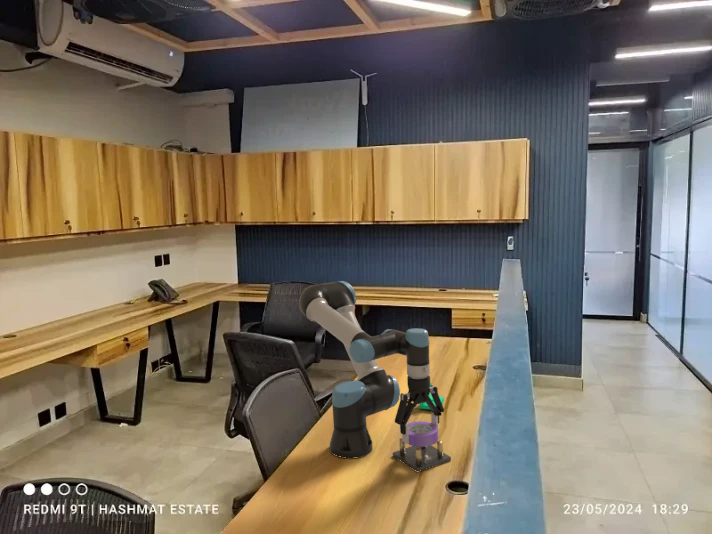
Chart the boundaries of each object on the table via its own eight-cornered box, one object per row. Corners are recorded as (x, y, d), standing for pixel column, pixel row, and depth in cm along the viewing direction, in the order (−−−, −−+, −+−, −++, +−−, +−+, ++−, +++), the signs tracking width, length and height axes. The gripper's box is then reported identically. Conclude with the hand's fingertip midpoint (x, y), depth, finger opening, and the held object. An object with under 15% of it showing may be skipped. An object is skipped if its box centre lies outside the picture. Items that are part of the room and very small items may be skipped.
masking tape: (418, 450, 172) (417, 438, 171) (396, 437, 181) (396, 426, 181) (445, 440, 178) (445, 429, 177) (423, 428, 187) (423, 418, 187)
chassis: (417, 472, 171) (416, 454, 170) (392, 455, 183) (392, 438, 182) (451, 460, 178) (450, 442, 177) (425, 445, 190) (424, 428, 189)
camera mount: (437, 412, 219) (437, 388, 218) (419, 410, 222) (418, 387, 221) (444, 402, 230) (443, 379, 229) (427, 400, 233) (426, 377, 232)
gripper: (395, 386, 168) (397, 451, 170) (453, 371, 180) (455, 432, 182) (382, 379, 174) (384, 443, 177) (439, 365, 186) (441, 425, 189)
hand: (420, 437), depth 179 cm, fingers closed on masking tape, 12 cm apart
